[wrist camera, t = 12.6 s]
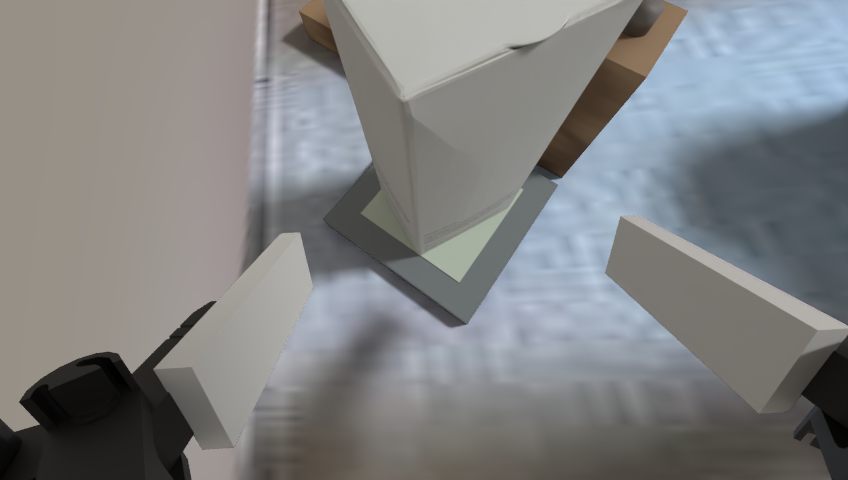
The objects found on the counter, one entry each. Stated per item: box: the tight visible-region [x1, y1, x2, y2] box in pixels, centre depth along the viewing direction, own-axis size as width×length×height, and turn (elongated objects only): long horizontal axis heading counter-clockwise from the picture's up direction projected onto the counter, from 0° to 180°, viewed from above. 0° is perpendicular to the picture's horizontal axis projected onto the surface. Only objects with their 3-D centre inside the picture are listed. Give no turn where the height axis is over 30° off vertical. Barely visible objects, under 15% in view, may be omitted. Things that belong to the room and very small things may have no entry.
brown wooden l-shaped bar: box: [299, 0, 688, 178], centre depth 23 cm, size 28×6×11 cm, turn 54°
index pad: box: [323, 164, 558, 325], centre depth 23 cm, size 13×13×1 cm
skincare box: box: [322, 0, 643, 255], centre depth 16 cm, size 8×7×16 cm
